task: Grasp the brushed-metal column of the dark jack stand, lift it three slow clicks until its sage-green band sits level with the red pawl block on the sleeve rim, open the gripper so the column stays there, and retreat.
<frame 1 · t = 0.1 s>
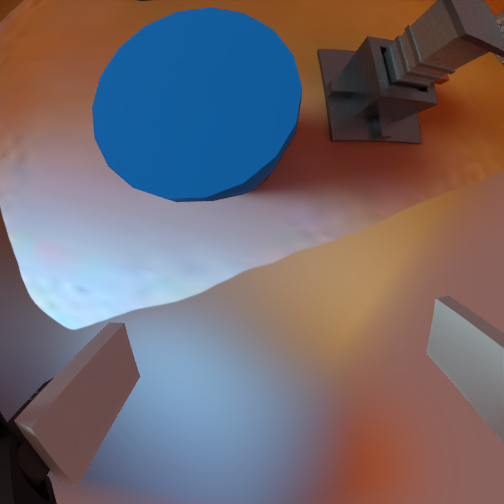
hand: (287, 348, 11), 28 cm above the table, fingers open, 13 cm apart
thermos: (234, 154, 36), on the table
lamp: (493, 41, 28), on the table
column: (414, 61, 20), point 13 cm above the table, slide at 1.9 cm
stand base: (370, 95, 33), on the table
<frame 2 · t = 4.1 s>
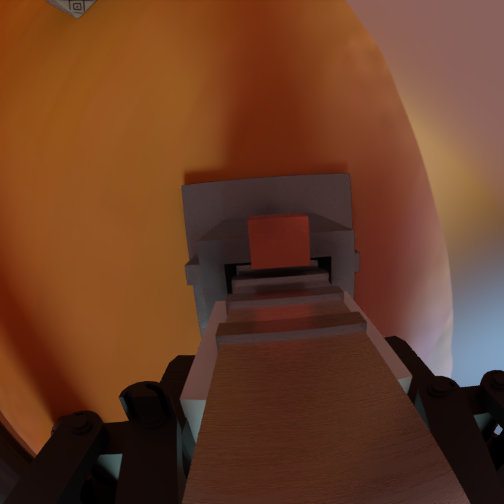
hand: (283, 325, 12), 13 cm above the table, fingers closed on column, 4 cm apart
column: (284, 332, 12), point 13 cm above the table, slide at 1.9 cm, touching gripper
stand base: (271, 259, 25), on the table
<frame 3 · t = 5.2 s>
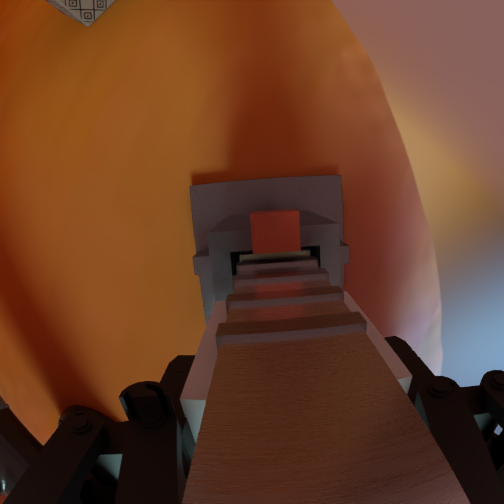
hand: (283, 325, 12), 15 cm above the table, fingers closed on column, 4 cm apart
column: (284, 332, 12), point 16 cm above the table, slide at 4.6 cm, touching gripper
stand base: (270, 252, 28), on the table
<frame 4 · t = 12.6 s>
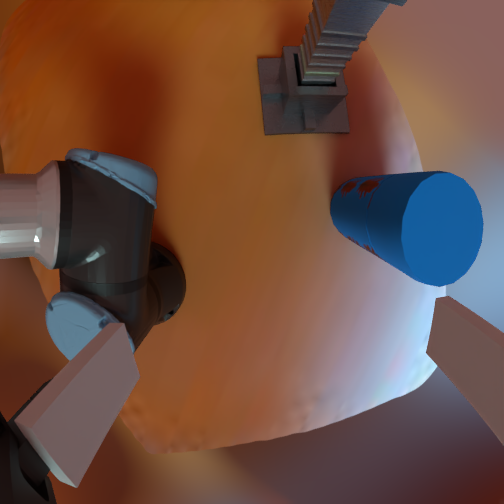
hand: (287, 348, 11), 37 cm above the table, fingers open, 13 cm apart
thermos: (359, 209, 46), on the table
column: (331, 35, 21), point 21 cm above the table, slide at 9.1 cm
stand base: (303, 94, 41), on the table
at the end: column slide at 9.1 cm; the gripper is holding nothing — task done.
